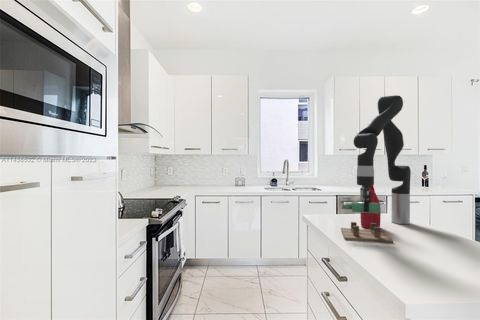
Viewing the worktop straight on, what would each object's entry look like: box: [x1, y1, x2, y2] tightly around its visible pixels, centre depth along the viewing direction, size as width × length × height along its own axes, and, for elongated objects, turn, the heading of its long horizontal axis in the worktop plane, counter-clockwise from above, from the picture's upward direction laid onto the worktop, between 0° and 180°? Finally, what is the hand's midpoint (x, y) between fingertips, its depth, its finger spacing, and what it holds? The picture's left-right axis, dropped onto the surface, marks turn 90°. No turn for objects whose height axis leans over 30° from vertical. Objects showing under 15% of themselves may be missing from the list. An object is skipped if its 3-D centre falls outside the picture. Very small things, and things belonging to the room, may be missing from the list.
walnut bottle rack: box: [340, 221, 394, 244], centre depth 131 cm, size 18×20×6 cm
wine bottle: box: [360, 185, 382, 230], centre depth 149 cm, size 10×10×30 cm
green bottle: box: [339, 201, 381, 214], centre depth 131 cm, size 17×5×5 cm, turn 75°
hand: (365, 210), depth 131 cm, fingers closed on green bottle, 5 cm apart
